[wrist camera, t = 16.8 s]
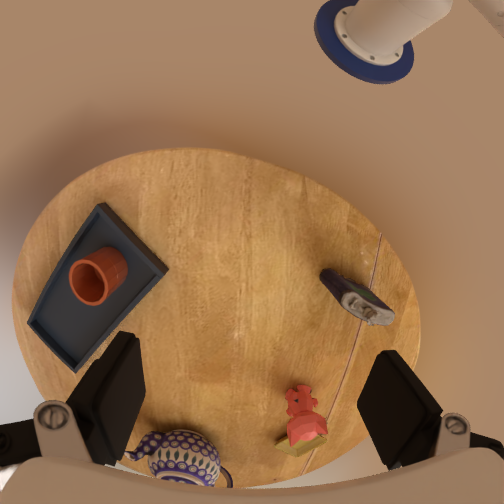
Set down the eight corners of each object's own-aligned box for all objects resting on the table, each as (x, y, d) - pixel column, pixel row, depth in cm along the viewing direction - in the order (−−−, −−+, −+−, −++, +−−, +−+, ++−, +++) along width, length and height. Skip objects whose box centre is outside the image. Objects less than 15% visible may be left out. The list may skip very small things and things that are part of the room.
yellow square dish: (326, 434, 48) (328, 441, 46) (295, 451, 50) (297, 458, 48) (304, 421, 47) (305, 428, 45) (271, 439, 48) (272, 446, 46)
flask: (371, 288, 40) (405, 320, 29) (362, 304, 40) (392, 339, 30) (324, 264, 38) (351, 293, 28) (314, 281, 39) (337, 315, 29)
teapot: (252, 451, 49) (255, 504, 35) (210, 470, 51) (207, 517, 37) (157, 398, 44) (138, 458, 30) (123, 424, 46) (104, 473, 32)
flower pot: (92, 244, 36) (67, 256, 29) (127, 248, 36) (106, 262, 29) (94, 283, 37) (71, 301, 30) (128, 289, 38) (109, 309, 31)
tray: (105, 202, 35) (97, 204, 32) (169, 269, 38) (164, 274, 35) (33, 317, 39) (26, 323, 37) (81, 366, 42) (75, 374, 39)
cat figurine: (285, 408, 45) (294, 457, 34) (271, 387, 44) (278, 438, 32) (320, 394, 45) (337, 442, 33) (308, 371, 43) (325, 421, 32)
